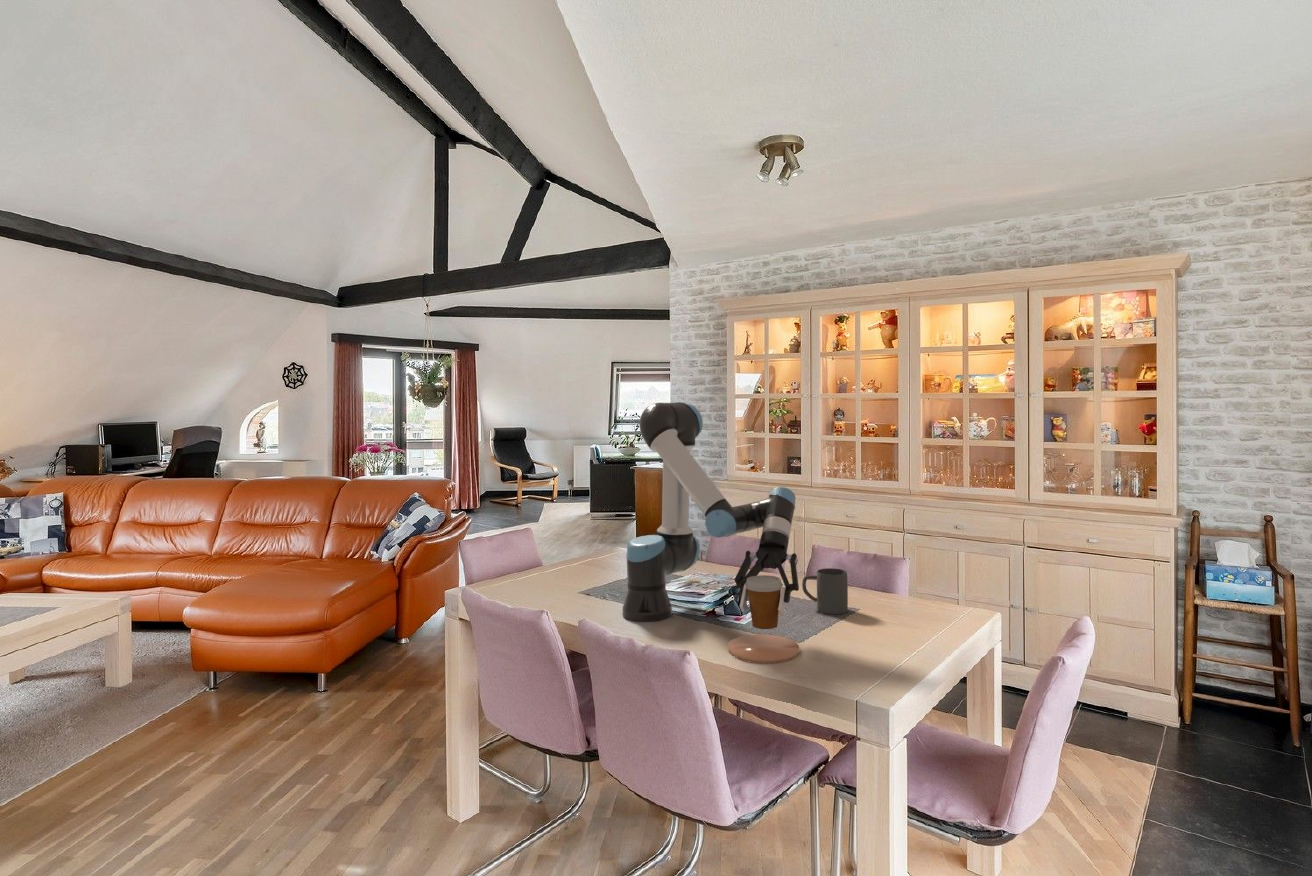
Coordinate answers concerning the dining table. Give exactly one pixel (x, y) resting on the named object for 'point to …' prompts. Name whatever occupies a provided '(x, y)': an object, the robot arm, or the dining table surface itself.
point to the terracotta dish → (763, 648)
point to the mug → (830, 590)
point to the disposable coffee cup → (764, 600)
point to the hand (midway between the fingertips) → (761, 611)
